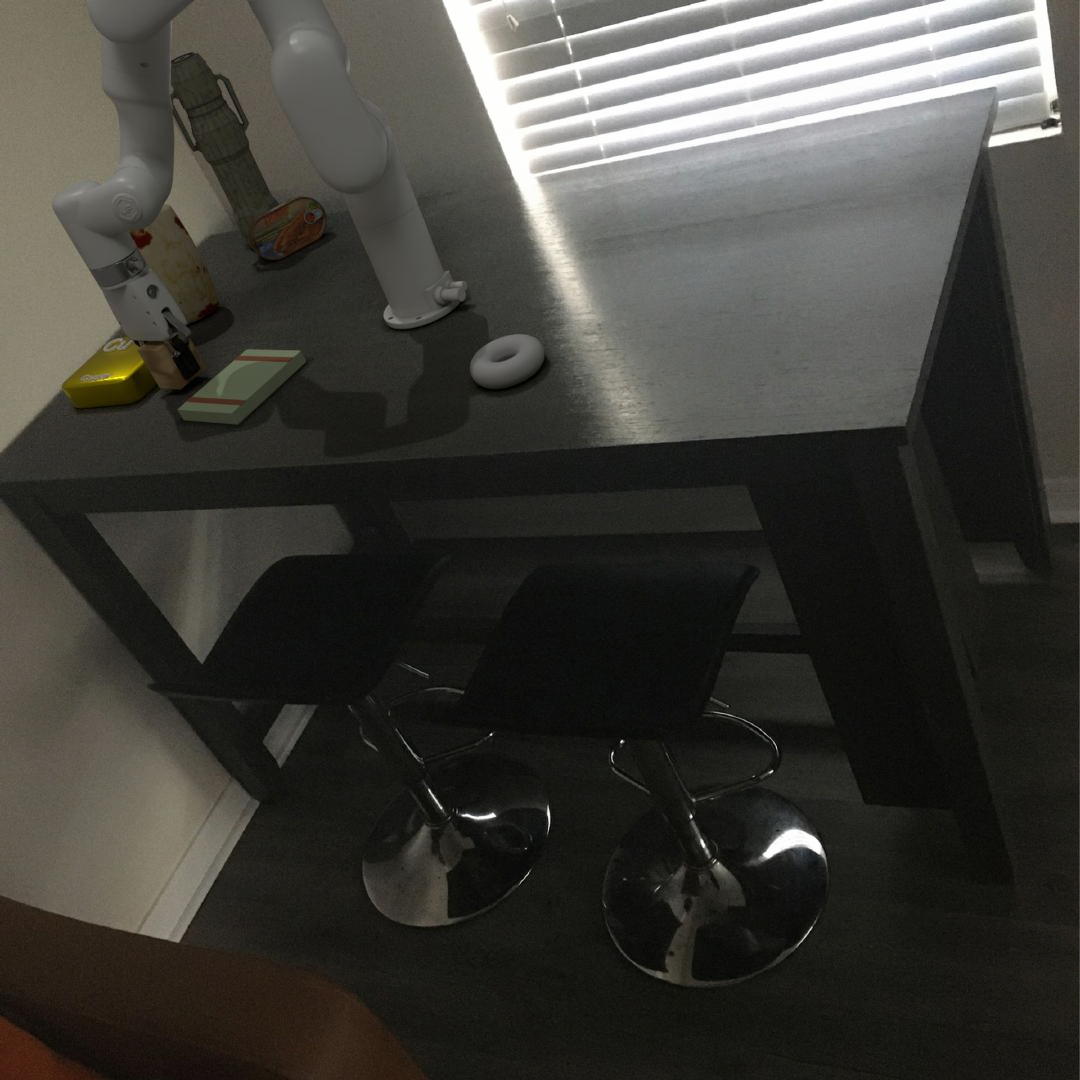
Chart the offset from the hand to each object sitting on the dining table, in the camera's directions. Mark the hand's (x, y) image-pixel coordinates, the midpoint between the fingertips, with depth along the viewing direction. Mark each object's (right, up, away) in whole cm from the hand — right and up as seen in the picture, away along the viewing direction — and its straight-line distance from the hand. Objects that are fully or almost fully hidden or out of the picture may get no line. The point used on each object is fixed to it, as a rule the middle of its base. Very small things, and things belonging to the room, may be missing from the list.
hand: (180, 372), depth 167 cm
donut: (+52, -4, -27) cm, 59 cm away
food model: (-4, +13, +23) cm, 27 cm away
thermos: (+3, +34, +45) cm, 56 cm away
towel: (+12, -4, -6) cm, 14 cm away
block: (0, -1, +1) cm, 1 cm away
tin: (+10, +29, +36) cm, 47 cm away
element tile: (-11, 0, +10) cm, 15 cm away
